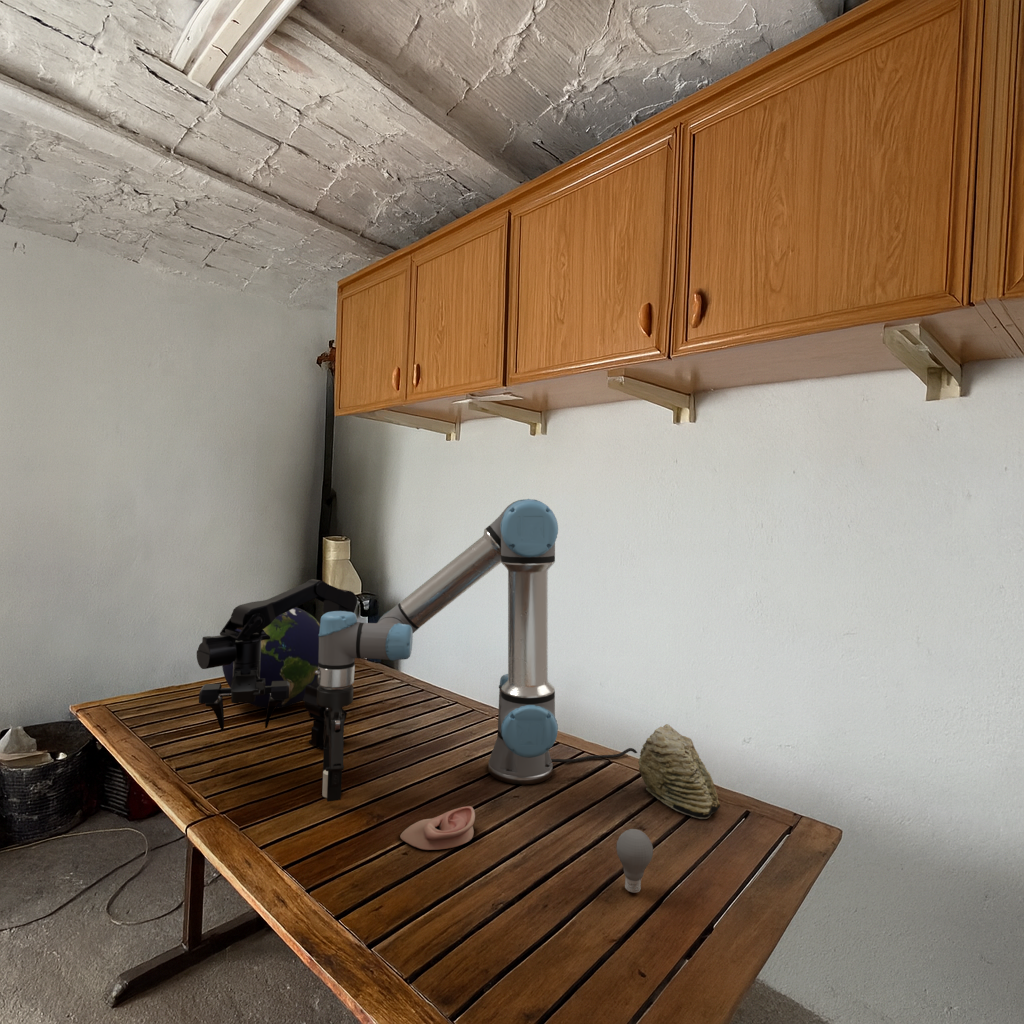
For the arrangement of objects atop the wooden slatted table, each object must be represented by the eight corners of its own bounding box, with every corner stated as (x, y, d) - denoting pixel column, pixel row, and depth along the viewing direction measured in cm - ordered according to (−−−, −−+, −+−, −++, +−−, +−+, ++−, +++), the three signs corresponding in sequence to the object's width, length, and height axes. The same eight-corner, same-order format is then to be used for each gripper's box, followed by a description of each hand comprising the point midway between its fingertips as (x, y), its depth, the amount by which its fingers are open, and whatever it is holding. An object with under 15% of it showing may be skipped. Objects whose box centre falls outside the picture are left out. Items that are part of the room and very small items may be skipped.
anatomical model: (394, 823, 116) (416, 795, 127) (393, 845, 116) (415, 815, 127) (464, 834, 113) (480, 805, 125) (463, 856, 113) (479, 825, 125)
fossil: (649, 780, 149) (652, 716, 148) (724, 809, 136) (728, 740, 135) (628, 791, 142) (631, 725, 142) (704, 823, 129) (708, 750, 129)
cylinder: (318, 796, 134) (319, 773, 134) (328, 789, 137) (329, 766, 137) (333, 799, 133) (334, 776, 133) (343, 792, 136) (344, 769, 136)
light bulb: (610, 879, 108) (613, 822, 108) (644, 879, 109) (647, 822, 109) (619, 902, 102) (622, 840, 102) (655, 901, 103) (658, 840, 103)
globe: (289, 685, 209) (292, 594, 208) (348, 705, 191) (352, 606, 191) (199, 706, 185) (203, 604, 184) (258, 732, 167) (262, 619, 167)
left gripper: (196, 672, 133) (193, 745, 134) (289, 668, 139) (287, 739, 140) (203, 659, 144) (201, 727, 144) (290, 656, 150) (288, 721, 150)
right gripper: (313, 671, 144) (309, 767, 145) (321, 703, 123) (316, 816, 123) (347, 669, 147) (343, 764, 147) (360, 700, 125) (356, 811, 126)
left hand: (244, 729), depth 144 cm, fingers open, 9 cm apart
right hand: (331, 788), depth 135 cm, fingers open, 10 cm apart
